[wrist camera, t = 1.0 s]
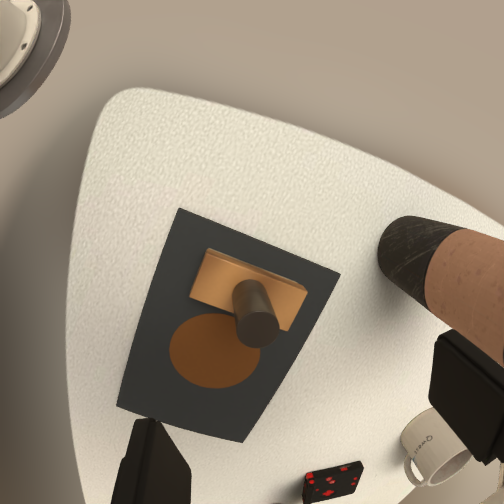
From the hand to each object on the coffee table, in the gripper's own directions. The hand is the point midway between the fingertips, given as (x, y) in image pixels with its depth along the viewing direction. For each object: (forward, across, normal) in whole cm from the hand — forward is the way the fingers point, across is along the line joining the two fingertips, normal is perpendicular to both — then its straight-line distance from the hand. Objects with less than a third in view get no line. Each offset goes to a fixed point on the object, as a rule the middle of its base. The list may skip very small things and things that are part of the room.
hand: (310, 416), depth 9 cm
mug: (+20, -19, +36) cm, 45 cm away
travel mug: (+20, -16, +4) cm, 26 cm away
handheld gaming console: (+20, -2, +40) cm, 45 cm away
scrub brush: (+19, +1, +2) cm, 20 cm away
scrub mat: (+20, +6, +9) cm, 22 cm away
